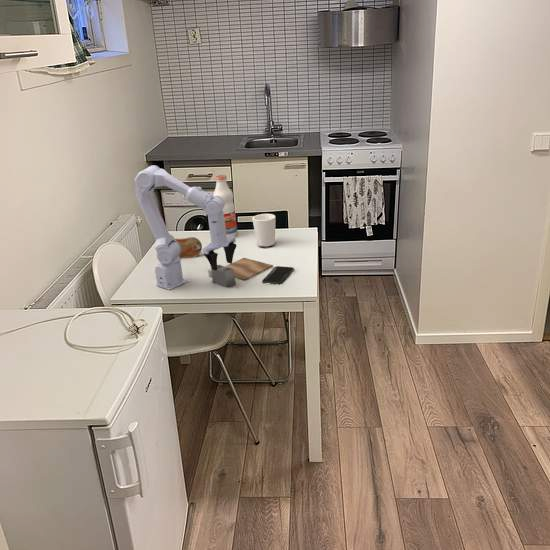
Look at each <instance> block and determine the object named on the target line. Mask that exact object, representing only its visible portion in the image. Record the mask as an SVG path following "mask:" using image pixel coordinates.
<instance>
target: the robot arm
mask: <svg viewBox="0 0 550 550" xmlns="http://www.w3.org/2000/svg"><path fill="white" fill-rule="evenodd" d="M134 183H135V188H134V189H135V193H134V195H135V198H136V200H137V202H138V205H139V207H140V209H141V211H142V213H143V215H144V218H145V219H146V222H147V224H148V226H149V228H150V231H151V233H152V235H153V237H154V239H155V244H154V245H155V246H154V248H155V251H156V259H157V260H158V262H159V263H160V264H159V265H158V264H157V266H156V267H155V269H154V273H155V279H156V286H157V287H159V288H162V289H164V290H169V291H171V290H172V289H175V288H177V287H179V286H180V285H183V284H186V283H188V282H189V280H188V279H186V278H184V277H183V275H184V274H183V269H182V262H181V259H180V257H179V254H180V252H181V246H180V244H179V243H178V242H177V241H176V240H175V239H176V238H175V237H174V236H173V235H172V234H170V233H169V230H168V228H167V226H166V224H165V221H164V218H163V217H162V215H161V212H160V211H159V208H158V205H157V204H156V201H155V199H154V196H153V192H154V190H155V189H156V188H158V187H159V188H160V187H167V188H168V189H171V190H173V191H175V192H177V193H179V194H181V195H183V196H185V198H186V200H187V202H189V203H191V204H193V205H194V206H197V207H198V208H200V209H202V210H204V213H205V215H206V216H207V218H208V227H209V236H210V243H209V244H207V245H206V246H205V247H202V253H203V255H204V257H205V258H206V260H207V261H208V263H209V264H210V269H211V268H212V270H215V271H216V270H217V265H218V255H219V254H218V253H216V252H215V251H216V250H219V249H220V248H223V250H224V254H225V260H226V263H227V264H231V263H233V260H234V254H235V250H236V248H237V243H236V237H232V236H231V237H228V238H227V236H226V228H225V219H224V213H223V211H222V210H223V209H224V206H225V203H224V201H223V199H222V198H220V197H219V196H213V193H208V192H206V191H205V190H203V188H202V187H201V186H189V185H187V184H186V183H185V182H183V181H181V180H180V179H179V178H176V177H175V176H173V175H172V174H170V173H168V172H167V170H165V169H164V168H160V167H159V166H158V165H150V166H148V167H146V168H144V169H143V170H140V171H139V172H138V173H137V174H136V176H135V178H134ZM221 211H222V212H221Z"/></svg>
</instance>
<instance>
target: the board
mask: <svg viewBox="0 0 550 550" xmlns="http://www.w3.org/2000/svg"><path fill="white" fill-rule="evenodd" d="M225 267H229V268H232V269H234V275H235V279H238V280H241V281H247V280H249V279H251V278H253V277H255V276H257V275H260V274H261V273H263V272H265V271H268V270H269V269H272V268H273V267H274V264H270V263H266V262H261V261H259V260H254V259H251V258H246V257H243V258H240V259H238V260H235V261H232V263H231V264H230V263H228V264H226V265H225Z"/></svg>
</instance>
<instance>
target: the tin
mask: <svg viewBox="0 0 550 550" xmlns="http://www.w3.org/2000/svg"><path fill="white" fill-rule="evenodd" d="M175 240H176V241H177V242H178V243H179V244H180V246H181V252H180V254H179V257H180V260H181V259H190V258H196V257H198V256H200V254H201V253H202V251H203V244H202V242H201V241H200V240H199V239H198V238H197V237H193V236H191V237H183V238H182V237H180V238H175Z"/></svg>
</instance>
